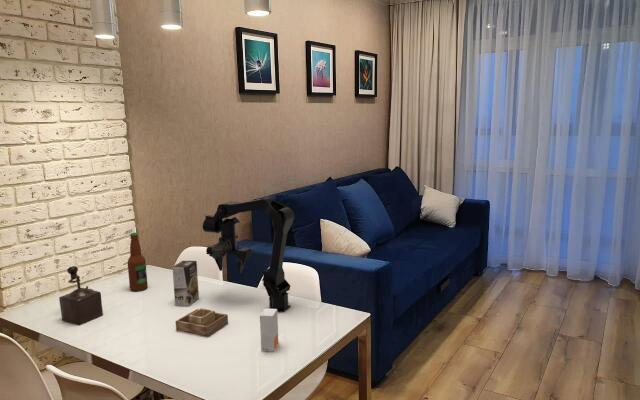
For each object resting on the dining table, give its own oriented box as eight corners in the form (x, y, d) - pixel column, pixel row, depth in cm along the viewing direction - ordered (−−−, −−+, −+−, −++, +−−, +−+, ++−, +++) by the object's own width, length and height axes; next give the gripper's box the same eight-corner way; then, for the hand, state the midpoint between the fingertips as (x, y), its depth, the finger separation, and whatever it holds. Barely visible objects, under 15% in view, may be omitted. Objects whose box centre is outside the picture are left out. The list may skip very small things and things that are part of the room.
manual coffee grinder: (105, 314, 184) (100, 269, 181) (79, 325, 174) (74, 278, 171) (78, 307, 191) (73, 264, 188) (52, 318, 181) (46, 272, 178)
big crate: (228, 323, 173) (227, 314, 172) (207, 337, 163) (207, 327, 162) (197, 317, 179) (197, 308, 178) (176, 330, 168) (175, 321, 168)
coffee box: (189, 306, 189) (186, 267, 187) (174, 305, 191) (171, 266, 188) (199, 298, 198) (197, 260, 196) (185, 297, 200) (182, 259, 197)
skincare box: (274, 352, 151) (272, 316, 149) (260, 351, 152) (259, 315, 150) (279, 343, 157) (277, 308, 155) (266, 342, 158) (264, 307, 156)
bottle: (144, 291, 207) (139, 235, 203) (127, 292, 207) (121, 235, 203) (150, 286, 214) (145, 231, 210) (133, 286, 214) (128, 231, 210)
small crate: (215, 322, 172) (214, 310, 172) (202, 330, 166) (202, 318, 165) (202, 319, 175) (201, 308, 174) (189, 327, 169) (188, 315, 168)
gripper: (196, 236, 187) (198, 275, 190) (236, 240, 179) (238, 281, 182) (213, 230, 197) (216, 267, 200) (252, 234, 189) (254, 272, 192)
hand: (230, 272), depth 193 cm, fingers open, 9 cm apart
